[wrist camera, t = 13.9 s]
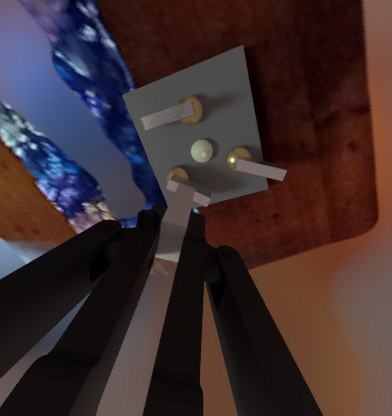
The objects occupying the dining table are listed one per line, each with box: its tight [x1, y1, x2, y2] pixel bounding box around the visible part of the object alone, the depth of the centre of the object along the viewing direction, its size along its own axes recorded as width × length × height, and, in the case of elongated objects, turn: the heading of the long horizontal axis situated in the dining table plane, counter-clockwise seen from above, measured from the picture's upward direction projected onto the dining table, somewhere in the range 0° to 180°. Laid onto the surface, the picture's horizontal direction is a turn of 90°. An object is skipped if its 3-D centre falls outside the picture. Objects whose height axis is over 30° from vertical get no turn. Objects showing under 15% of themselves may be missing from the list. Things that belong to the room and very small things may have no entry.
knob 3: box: [227, 147, 287, 181], centre depth 33 cm, size 9×4×6 cm, turn 78°
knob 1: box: [141, 96, 203, 130], centre depth 31 cm, size 9×4×6 cm, turn 107°
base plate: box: [122, 45, 268, 209], centre depth 36 cm, size 24×21×3 cm
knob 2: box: [166, 166, 211, 207], centre depth 36 cm, size 9×4×6 cm, turn 65°
